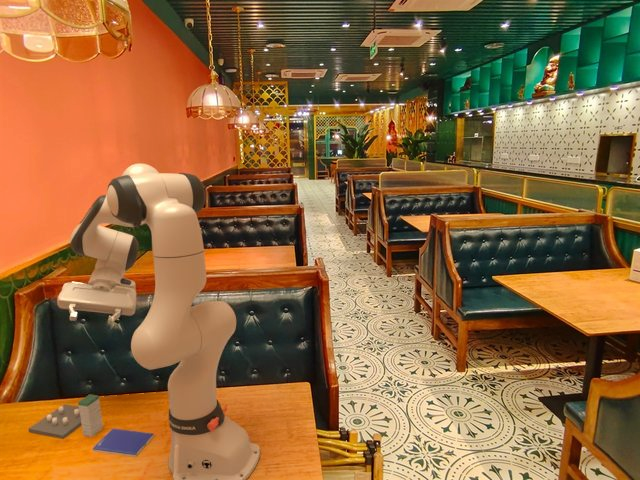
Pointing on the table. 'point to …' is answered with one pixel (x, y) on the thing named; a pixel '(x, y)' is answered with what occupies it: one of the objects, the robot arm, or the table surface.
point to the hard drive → (123, 442)
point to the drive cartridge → (90, 415)
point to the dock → (59, 422)
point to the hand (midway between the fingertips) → (91, 321)
